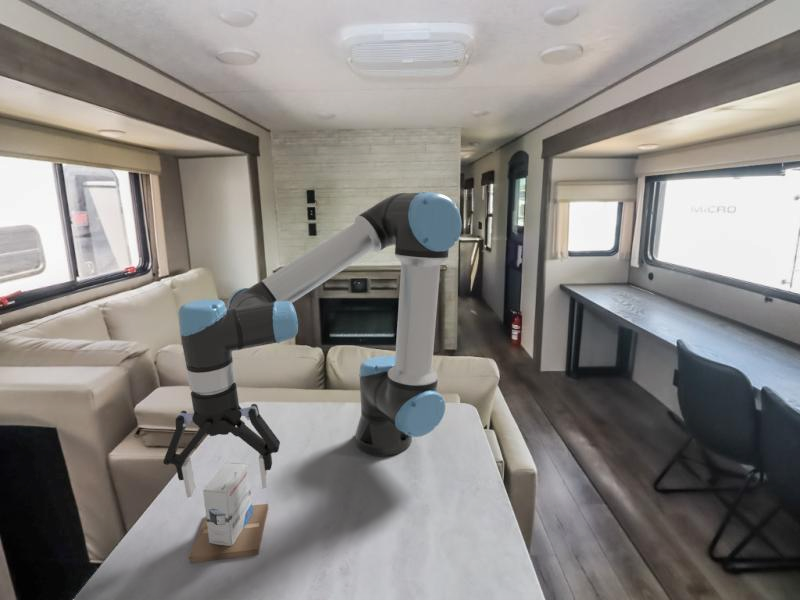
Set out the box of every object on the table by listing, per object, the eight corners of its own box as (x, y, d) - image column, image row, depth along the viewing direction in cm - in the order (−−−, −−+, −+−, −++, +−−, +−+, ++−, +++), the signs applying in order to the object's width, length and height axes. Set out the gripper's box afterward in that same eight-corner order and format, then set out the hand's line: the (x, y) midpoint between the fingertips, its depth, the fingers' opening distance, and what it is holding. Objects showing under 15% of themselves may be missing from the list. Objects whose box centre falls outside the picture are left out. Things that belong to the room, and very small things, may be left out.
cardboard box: (268, 508, 90) (267, 503, 90) (258, 554, 79) (257, 548, 78) (208, 515, 88) (208, 509, 88) (189, 562, 77) (188, 557, 77)
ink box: (231, 511, 88) (225, 461, 85) (255, 513, 87) (249, 462, 84) (208, 544, 79) (200, 490, 77) (233, 546, 79) (226, 492, 76)
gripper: (287, 371, 81) (297, 468, 87) (147, 383, 78) (167, 483, 83) (282, 388, 74) (293, 493, 79) (128, 402, 71) (151, 510, 76)
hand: (229, 488), depth 81 cm, fingers open, 13 cm apart
